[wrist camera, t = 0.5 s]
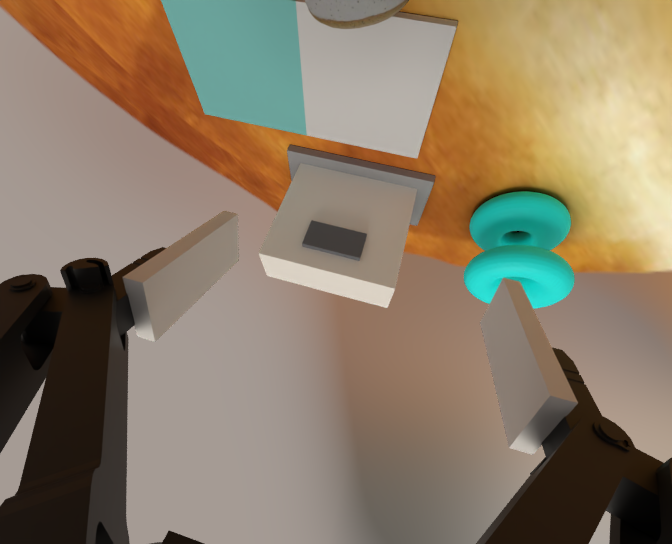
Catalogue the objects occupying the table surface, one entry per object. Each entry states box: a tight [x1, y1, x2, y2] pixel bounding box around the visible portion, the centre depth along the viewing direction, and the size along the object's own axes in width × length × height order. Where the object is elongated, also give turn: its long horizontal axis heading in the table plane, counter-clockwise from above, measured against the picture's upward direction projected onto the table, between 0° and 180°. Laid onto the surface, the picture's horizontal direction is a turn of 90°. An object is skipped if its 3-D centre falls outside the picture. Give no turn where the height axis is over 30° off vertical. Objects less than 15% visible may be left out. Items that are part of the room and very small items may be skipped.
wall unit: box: [259, 145, 435, 308], centre depth 37 cm, size 8×17×14 cm, turn 89°
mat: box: [161, 0, 458, 158], centre depth 30 cm, size 12×24×1 cm, turn 89°
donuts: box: [464, 191, 574, 309], centre depth 35 cm, size 10×10×10 cm
